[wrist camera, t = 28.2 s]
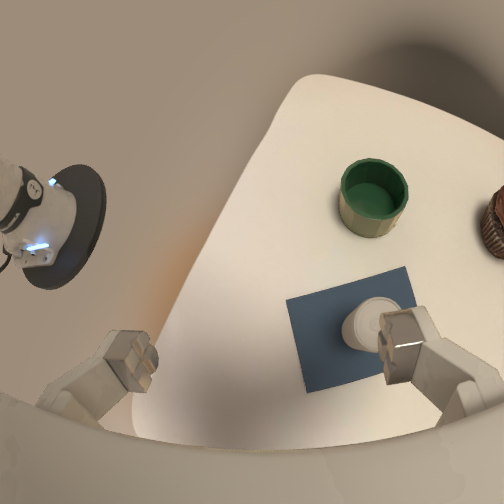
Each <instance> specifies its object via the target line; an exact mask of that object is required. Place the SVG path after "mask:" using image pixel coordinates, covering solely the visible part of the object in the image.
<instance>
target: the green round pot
mask: <svg viewBox="0 0 504 504" xmlns="http://www.w3.org/2000/svg"><path fill="white" fill-rule="evenodd" d="M408 198H409V197H408V185H407V183H406V181H405V179H404V177H403V175H402V174H401V173H400V172H399V171H398V170H397V169H396V168H395V167H394V166H393V165H391V164H389V163H387V162H385V161H383V160H380V159H372V158H367V159H362V160H358V161H356V162H354V163H353V164H352V165H350V166H349V167H347V169H346V171H345V172H344V174H343V176H342V178H341V189H340V200H339V212H340V216H341V218H342V220H343V222H344V224H345V225H346V226H347V227H348V228H349V229H350V230H351V231H352V232H354V233H356V234H358V235H360V236H363V237H368V238H375V237H380V236H383V235H385V234H386V233H388V232H389V231H390V230H391V229H392V228H393V227H394V226H395V224H396V223H397V221H398V219H399V217H400V215H401V214H402V212H403V210H404V208H405V206H406V203H407V201H408Z"/></svg>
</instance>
